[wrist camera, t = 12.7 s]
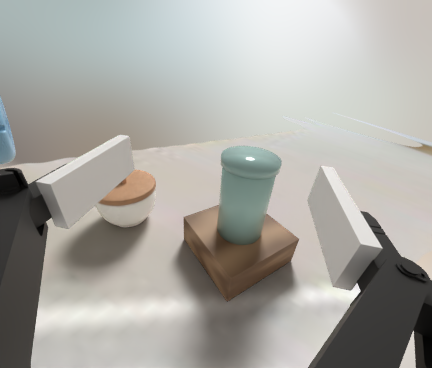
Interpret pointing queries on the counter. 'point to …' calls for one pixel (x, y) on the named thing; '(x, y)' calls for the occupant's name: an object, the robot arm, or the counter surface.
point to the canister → (245, 192)
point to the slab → (237, 252)
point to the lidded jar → (129, 200)
